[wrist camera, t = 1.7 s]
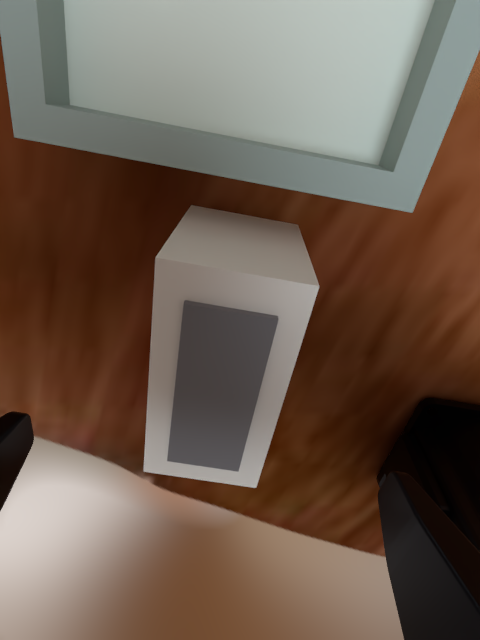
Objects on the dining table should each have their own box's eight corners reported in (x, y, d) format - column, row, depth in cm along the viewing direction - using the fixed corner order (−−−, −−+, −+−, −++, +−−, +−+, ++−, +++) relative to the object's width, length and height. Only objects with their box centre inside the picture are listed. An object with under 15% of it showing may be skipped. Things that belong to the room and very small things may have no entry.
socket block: (297, 224, 14) (320, 289, 9) (256, 385, 18) (256, 493, 13) (191, 204, 13) (153, 260, 8) (174, 372, 17) (142, 476, 12)
